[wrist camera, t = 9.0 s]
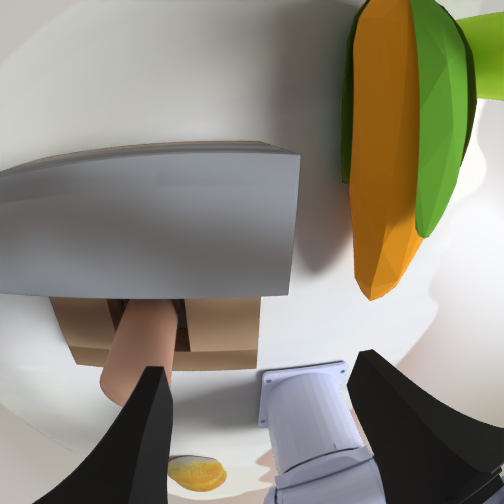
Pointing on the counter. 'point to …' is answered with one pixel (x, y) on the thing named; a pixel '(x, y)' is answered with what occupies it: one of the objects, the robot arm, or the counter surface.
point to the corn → (402, 130)
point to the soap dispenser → (486, 52)
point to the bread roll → (197, 473)
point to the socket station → (154, 241)
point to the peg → (140, 345)
